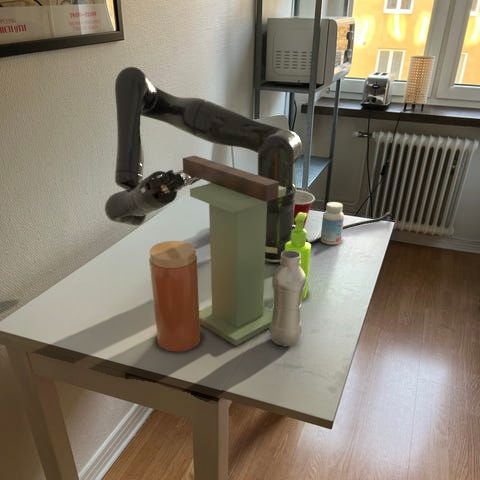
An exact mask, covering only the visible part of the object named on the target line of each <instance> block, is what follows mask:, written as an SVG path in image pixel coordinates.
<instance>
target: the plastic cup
mask: <svg viewBox="0 0 480 480" xmlns="http://www.w3.org/2000/svg"><path fill="white" fill-rule="evenodd" d="M315 200H316V198H315V195H313V194H312V193H310V192H308V191H305V190H300V189H296V193H295V206H294V221H293V224H294V225H295V226H296V222H295V218H296V216H297V214H298V213H299V212H302V213H308V215H307V216H306V218H305V220H304V224H303V229H304V230H305V227H306V223H307V220H308V217H309V213H310V209H311V207H312V204H313V202H314V201H315Z"/></svg>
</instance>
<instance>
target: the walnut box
mask: <svg viewBox="0 0 480 480" xmlns="http://www.w3.org/2000/svg"><path fill="white" fill-rule="evenodd" d="M182 170H183V173H182V174H184V173H186V174H188V175H191V176H194V177H197V178H200V180H203V181H205V182H208V183H214V184H217V185H219V186H222V187H225V188H228V189H231V190H234V191H236V192H239V193H242V194H245V195H248V196H251V197H253V198H256V199H259V200H262V201H265V202H267V201H271V200H274V199H277V198H278V190H279V182H278V181H274V180H271V179H268V178H265V177H262V176H258V174H255V173H253V172H252V173H251V172H248V171H246V170H242V169H238V168H236V167H233V166H229V165H226V164H223V163H219V162H216V161H213V160H210V159H207V158H205V157H201V156H197V155H191V156H186V157H182Z"/></svg>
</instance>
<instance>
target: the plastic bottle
mask: <svg viewBox="0 0 480 480" xmlns="http://www.w3.org/2000/svg"><path fill="white" fill-rule="evenodd" d="M300 258H301V255H300V253H299V252H297V251H293V250H287V251H283V252H282V253H281V259H280V263H279V264H280V266H278V267H277V269H276V270H275V271H274V272H273V273H274V274H273V276H272V290H273V310H272V311H273V315H272V320H271V323H270V328H268V332H269V338H270V340H271V341H272V342H273V343H274V344H276V345H279V346H282V347H289V346H293V345H295V344H297V342H298V341H299V340H300V338H301V335H302V323H301V309H302V301H303V300H302V296H303V292H304V289H305V285H306V276H305V273H304V272H303V270H302V269H301V267H300V266H299V265H300V264H301V260H300Z"/></svg>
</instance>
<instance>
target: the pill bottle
mask: <svg viewBox="0 0 480 480" xmlns="http://www.w3.org/2000/svg"><path fill="white" fill-rule="evenodd" d="M343 206H344V205H343V203H341V202H336V201H331V202H327V203H326V205H325V208H326V210H325V211H323V213H322V220H321V221H322V222H321V229H320V230H321V231H320V237H321V240H320V242H322V243H323V244H326V245H339V244H340V243H341V242H342V237H343V230H342V229H343V226H344V222H345V221H344V219H345V214H344V212H343V210H344V209H343V208H344V207H343Z"/></svg>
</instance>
